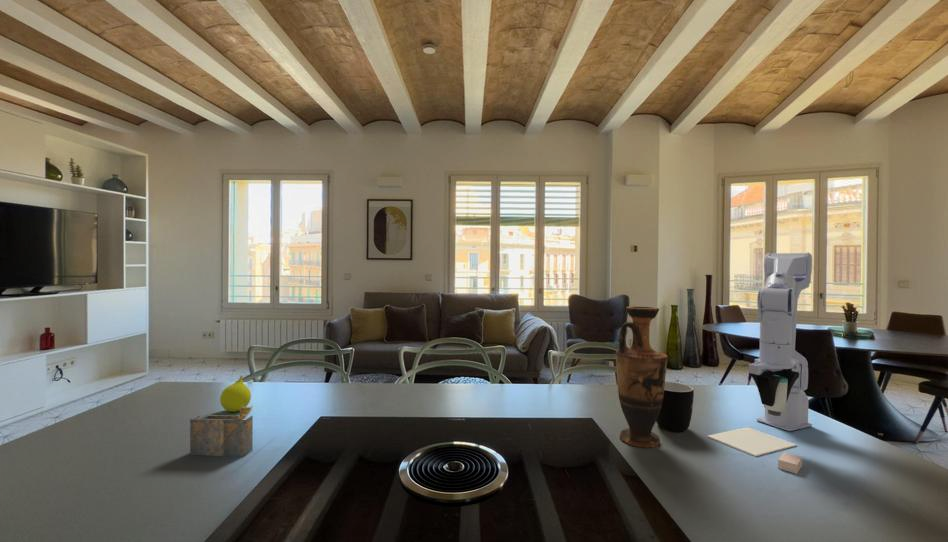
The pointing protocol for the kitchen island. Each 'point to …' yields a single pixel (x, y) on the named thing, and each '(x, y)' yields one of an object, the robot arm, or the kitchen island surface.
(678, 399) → the mug
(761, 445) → the paper
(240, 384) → the yellow rounded piece
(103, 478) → the kitchen island surface
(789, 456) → the eraser
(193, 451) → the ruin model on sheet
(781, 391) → the white and green cylinder
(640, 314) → the vase
